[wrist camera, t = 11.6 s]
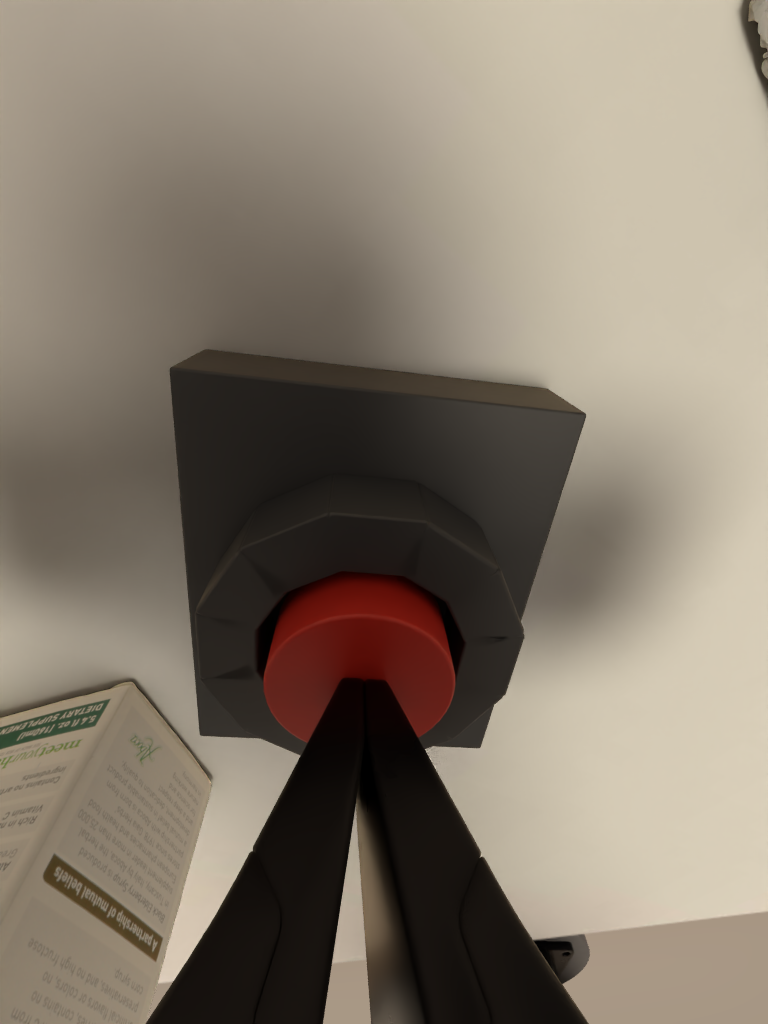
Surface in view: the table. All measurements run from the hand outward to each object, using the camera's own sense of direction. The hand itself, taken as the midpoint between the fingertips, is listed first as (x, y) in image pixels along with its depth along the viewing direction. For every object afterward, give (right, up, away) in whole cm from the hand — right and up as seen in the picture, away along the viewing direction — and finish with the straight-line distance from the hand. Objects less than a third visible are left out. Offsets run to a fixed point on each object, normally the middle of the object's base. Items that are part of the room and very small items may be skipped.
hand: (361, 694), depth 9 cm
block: (0, +2, +4) cm, 5 cm away
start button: (0, +1, +2) cm, 2 cm away
